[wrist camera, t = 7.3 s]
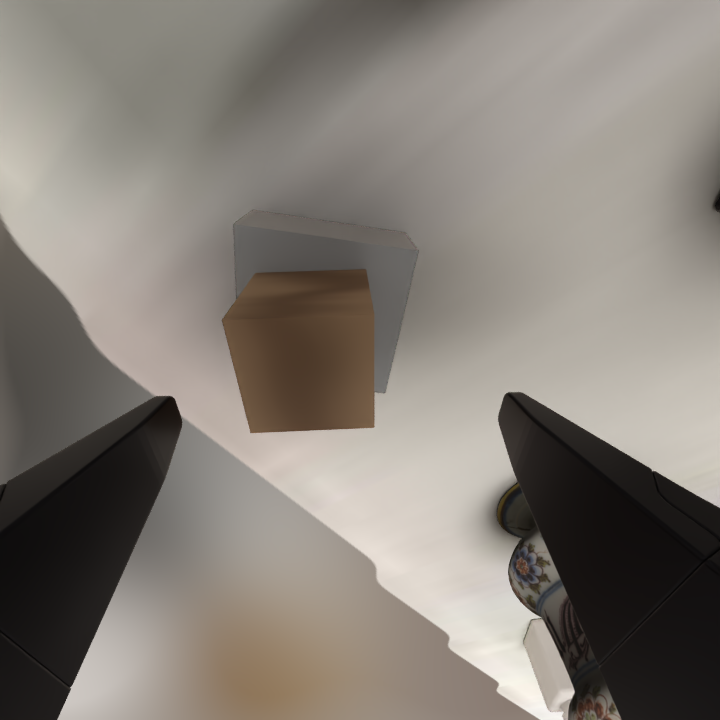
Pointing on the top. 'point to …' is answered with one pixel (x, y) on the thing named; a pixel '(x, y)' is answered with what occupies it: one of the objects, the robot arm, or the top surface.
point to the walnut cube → (304, 350)
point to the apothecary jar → (553, 609)
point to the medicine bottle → (548, 668)
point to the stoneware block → (333, 265)
